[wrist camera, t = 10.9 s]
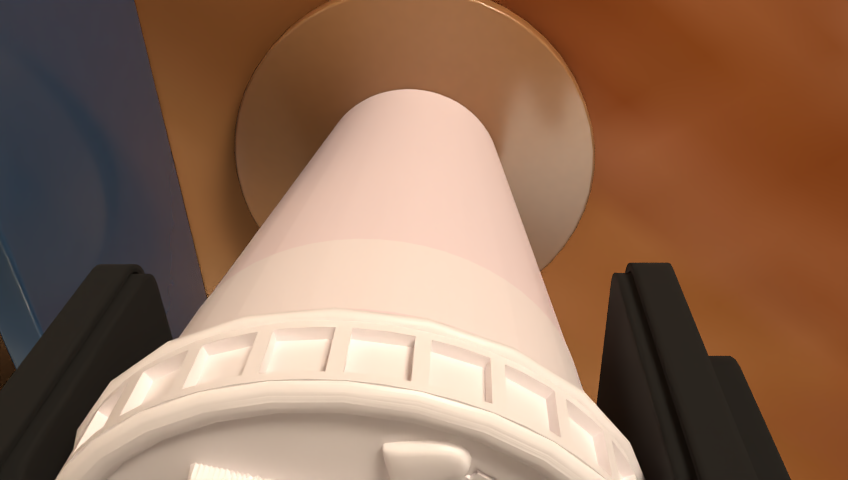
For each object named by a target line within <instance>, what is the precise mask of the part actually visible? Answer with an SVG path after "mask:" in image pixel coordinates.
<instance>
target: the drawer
mask: <svg viewBox="0 0 848 480" xmlns="http://www.w3.org/2000/svg"><path fill="white" fill-rule="evenodd" d="M100 264H137V265H139V266H141V268H142V269H143V270H144V273H145V274H151V275H153V276H154V277H155V279H156V282H157V285H158V288H159V292H160V295H161V299H162V302H163V306H164V309H165V313H166V316H167V320H168V323H169V327H170V330H171V334H172V337H173V340H174V339H177V338H179V336H180V335H181V334H182V332H183V331H184V329H185V328H186V327H187V325H188V324H189V322H190V321H191V319H192V318H193V317H194V315H195V314H196V312H197V311H198V309H199V308H200V307H201V306H202V304H203V303H204V302H205V301H206V300H207V297H206V293H205V289H204V284H203V280H202V276H201V272H200V268H199V264H198V260H197V256H196V252H195V248H194V243H193V239H192V235H191V231H190V227H189V223H188V219H187V215H186V211H185V207H184V202H183V198H182V194H181V190H180V186H179V182H178V178H177V174H176V170H175V166H174V161H173V157H172V153H171V149H170V145H169V141H168V137H167V133H166V129H165V125H164V120H163V116H162V112H161V108H160V104H159V100H158V96H157V92H156V88H155V83H154V79H153V75H152V71H151V67H150V63H149V59H148V55H147V51H146V47H145V42H144V38H143V34H142V30H141V26H140V22H139V18H138V14H137V10H136V6H135V1H134V0H0V334H1V336H2V338H3V341H4V343H5V345H6V347H7V350H8V352H9V354H10V356H11V359H12V361H13V363H14V365H15V368H16V369H17V368H18V367H19V365H20V364H21V363H22V361H23V360H24V359H25V357H26V356H27V355H28V353H29V352H30V351H31V350H32V348H33V347H34V346H35V344H36V343H37V342H38V340H39V339H40V338H41V336H42V335H43V334H44V332H45V331H46V330H47V328H48V327H49V326H50V324H51V323H52V322H53V320H54V319H55V318H56V316H57V315H58V314H59V313H60V311H61V310H62V309H63V307H64V306H65V305H66V303H67V302H68V301H69V299H70V298H71V297H72V295H73V294H74V293H75V291H76V290H77V289H78V287H79V286H80V285H81V283H82V282H83V281H84V279H85V278H86V277H87V276H88V274H89V273H90V272H91V270H92V269H93V268H94V267H95V266H96V265H100Z"/></svg>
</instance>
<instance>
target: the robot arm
mask: <svg viewBox="0 0 848 480" xmlns="http://www.w3.org/2000/svg"><path fill="white" fill-rule="evenodd" d="M171 340H173V337H172V334H171V330H170V327H169V323H168V320H167V316H166V313H165V309H164V306H163V302H162V299H161V295H160V292H159V288H158V285H157V282H156V279H155V277H154V276H153V275H151V274H145V273H144V270H143V269H142V268H141V266H139V265H137V264H100V265H96V266H95V267H94V268H93V269H92V270H91V272H90V273H89V274H88V276H87V277H86V278H85V279H84V281H83V282H82V283H81V285H80V286H79V287H78V289H77V290H76V291H75V293H74V294H73V295H72V297H71V298H70V299H69V301H68V302H67V303H66V305H65V306H64V307H63V309H62V310H61V311H60V313H59V314H58V315H57V316H56V318H55V319H54V320H53V322H52V323H51V324H50V326H49V327H48V328H47V330H46V331H45V332H44V334H43V335H42V336H41V338H40V339H39V340H38V342H37V343H36V344H35V346H34V347H33V348H32V350H31V351H30V352H29V353H28V355H27V356H26V357H25V359H24V360H23V361H22V363H21V364H20V365H19V367H18V368H17V369H16V371H15V372H14V373H13V375H12V376H11V377H10V379H9V380H8V381H7V383H6V384H5V385H4V387H3V388H2V389H1V390H0V480H55V479H56V478H57V476H58V474H59V472H60V471H61V469H62V467H63V466H64V464H65V463H66V461H67V459H68V458H69V456H70V454H71V452H72V451H73V449H74V443H75V438H76V433H77V429H78V428H79V426H80V425H81V423H82V422H83V421H84V419H85V418H86V416H87V415H88V413H89V412H90V410H91V409H92V408H93V406H94V405H95V403H96V402H97V400H98V399H99V397H100V396H101V395H102V393H103V392H104V390H105V389H106V387H107V386H108V384H109V383H110V382H111V381H112V380H113V379H115V378H116V377H118V376H119V375H120V374H122V373H123V372H125V371H126V370H128V369H129V368H131V367H132V366H133V365H135V364H136V363H138V362H139V361H141V360H142V359H143V358H145V357H146V356H148V355H149V354H151V353H152V352H154V351H155V350H156V349H158V348H159V347H161V346H162V345H164V344H165V343H166V342H168V341H171ZM597 407H598V408H599V409H600V410H601V411H602V412H603V413H604V414H605V415H606V416H607V418H608V419H609V420H610V421H611V422H612V423H613V424H614V425H615V426H616V427H617V429H618V430H619V431H620V432H621V433H622V434H623V435H624V436H625V437H626V438H627V440H628V441H629V442H630V444H631V446H632V449H633V451H634V453H635V456H636V458H637V461H638V463H639V466H640V468H641V470H642V473H643V475H644V478H645V480H791V479H790V477H789V474H788V472H787V470H786V468H785V466H784V463H783V461H782V459H781V457H780V454H779V452H778V450H777V448H776V446H775V443H774V441H773V439H772V437H771V435H770V432H769V430H768V428H767V426H766V423H765V421H764V419H763V417H762V415H761V412H760V410H759V408H758V406H757V403H756V401H755V399H754V397H753V395H752V392H751V390H750V388H749V386H748V383H747V381H746V379H745V377H744V375H743V372H742V370H741V368H740V366H739V365H738V363H737V361H736V360H735V359H734V358H732V357H731V356H708V354H707V351H706V349H705V346H704V344H703V341H702V339H701V337H700V334H699V332H698V329H697V327H696V324H695V322H694V319H693V317H692V314H691V312H690V309H689V307H688V304H687V302H686V299H685V297H684V295H683V292H682V290H681V287H680V285H679V282H678V280H677V277H676V275H675V272H674V270H673V268H672V266H671V264H669V263H629V264H628V265H627V267H626V271H625V273H614V274H613V276H612V280H611V288H610V296H609V305H608V313H607V322H606V330H605V339H604V347H603V356H602V364H601V372H600V381H599V389H598V398H597Z"/></svg>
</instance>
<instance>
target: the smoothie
mask: <svg viewBox="0 0 848 480" xmlns="http://www.w3.org/2000/svg"><path fill="white" fill-rule="evenodd" d="M55 480H645V478H644V475H643V473H642V470H641V468H640V466H639V463H638V461H637V458H636V456H635V453H634V451H633V449H632V446H631V444H630V442H629V441H628V440H627V438H626V437H625V436H624V435H623V434H622V433H621V432H620V431H619V430H618V429H617V427H616V426H615V425H614V424H613V423H612V422H611V421H610V420H609V419H608V418H607V416H606V415H605V414H604V413H603V412H602V411H601V410H600V409H599V408H598V407H597V405H596V404H595V403H594V402H593V401H592V400H591V399H590V398H589V397H588V395H587V394H586V393H585V392H584V391H583V388H582V385H581V382H580V379H579V376H578V373H577V370H576V367H575V364H574V362H573V359H572V357H571V354H570V352H569V349H568V347H567V345H566V343H565V340H564V337H563V334H562V331H561V329H560V326H559V323H558V320H557V318H556V315H555V312H554V309H553V307H552V304H551V301H550V298H549V295H548V293H547V290H546V287H545V284H544V282H543V279H542V276H541V273H540V270H539V268H538V265H537V262H536V259H535V257H534V254H533V251H532V248H531V245H530V243H529V240H528V237H527V234H526V232H525V229H524V226H523V223H522V221H521V218H520V215H519V212H518V209H517V207H516V204H515V201H514V198H513V196H512V193H511V190H510V187H509V184H508V182H507V179H506V176H505V173H504V171H503V168H502V165H501V162H500V159H499V157H498V154H497V151H496V148H495V146H494V143H493V141H492V139H491V137H490V135H489V133H488V131H487V130H486V128H485V127H484V125H483V124H482V123H481V122H480V121H479V119H478V118H477V117H476V116H475V115H474V114H473V113H472V112H470V111H469V110H468V109H467V108H465V107H464V106H462V105H461V104H459V103H458V102H456V101H454V100H452V99H450V98H448V97H445V96H443V95H440V94H437V93H434V92H430V91H425V90H416V89H401V90H393V91H387V92H383V93H380V94H377V95H374V96H372V97H369V98H367V99H366V100H364V101H362V102H360V103H359V104H357V105H356V106H354V107H353V108H352V109H351V110H349V111H348V112H347V113H346V114H345V115H344V116H343V117H342V118H341V120H340V121H339V122H338V123H337V125H336V126H335V127H334V129H333V130H332V132H331V133H330V134H329V136H328V137H327V138H326V140H325V141H324V142H323V144H322V145H321V146H320V148H319V149H318V150H317V152H316V153H315V155H314V156H313V157H312V159H311V160H310V161H309V163H308V164H307V165H306V167H305V168H304V169H303V171H302V172H301V173H300V175H299V176H298V177H297V179H296V180H295V182H294V183H293V184H292V186H291V187H290V188H289V190H288V191H287V192H286V194H285V195H284V196H283V198H282V199H281V200H280V202H279V203H278V205H277V206H276V207H275V209H274V210H273V211H272V213H271V214H270V215H269V217H268V218H267V219H266V221H265V222H264V223H263V225H262V226H261V228H260V229H259V230H258V232H257V233H256V234H255V236H254V237H253V238H252V240H251V241H250V242H249V244H248V245H247V246H246V248H245V249H244V250H243V252H242V253H241V255H240V256H239V257H238V259H237V260H236V261H235V263H234V264H233V265H232V267H231V268H230V269H229V271H228V272H227V273H226V275H225V276H224V278H223V279H222V280H221V282H220V283H219V284H218V286H217V287H216V288H215V290H214V291H213V292H212V294H211V295H210V296H209V297H208V298H207V300H206V301H205V302H204V303H203V304H202V306H201V307H200V308H199V309H198V311H197V312H196V314H195V315H194V317H193V318H192V319H191V321H190V322H189V324H188V325H187V327H186V328H185V329H184V331H183V332H182V334H181V335H180V336H179V338H177V339H174V340H171V341H168V342H166V343H165V344H164V345H162V346H161V347H159V348H158V349H156V350H155V351H154V352H152V353H151V354H149V355H148V356H146V357H145V358H143V359H142V360H141V361H139V362H138V363H136V364H135V365H133V366H132V367H131V368H129V369H128V370H126V371H125V372H123V373H122V374H120V375H119V376H118V377H116V378H115V379H113V380H112V381H111V382H110V383H109V384H108V386H107V387H106V389H105V390H104V392H103V393H102V395H101V396H100V397H99V399H98V400H97V402H96V403H95V405H94V406H93V408H92V409H91V410H90V412H89V413H88V415H87V416H86V418H85V419H84V421H83V422H82V423H81V425H80V426H79V428H78V429H77V433H76V438H75V443H74V449H73V451H72V452H71V454H70V456H69V458H68V459H67V461H66V463H65V464H64V466H63V467H62V469H61V471H60V472H59V474H58V476H57V478H56V479H55Z"/></svg>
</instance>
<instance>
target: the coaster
mask: <svg viewBox="0 0 848 480" xmlns="http://www.w3.org/2000/svg"><path fill="white" fill-rule="evenodd" d="M401 89H416V90H425V91H430V92H434V93H437V94H440V95H443V96H445V97H448V98H450V99H452V100H454V101H456V102H458V103H459V104H461V105H462V106H464V107H465V108H467V109H468V110H469V111H470V112H472V113H473V114H474V115H475V116H476V117H477V118H478V119H479V121H480V122H481V123H482V124H483V125H484V127H485V128H486V130H487V131H488V133H489V135H490V137H491V139H492V141H493V143H494V146H495V148H496V151H497V154H498V157H499V159H500V162H501V165H502V168H503V171H504V173H505V176H506V179H507V182H508V184H509V187H510V190H511V193H512V196H513V198H514V201H515V204H516V207H517V209H518V212H519V215H520V218H521V221H522V223H523V226H524V229H525V232H526V234H527V237H528V240H529V243H530V245H531V248H532V251H533V254H534V257H535V259H536V262H537V265H538V268H539V270H540V271H541V270H542V269H544V268H545V267H546V266H547V265H548V264H549V263H550V262H551V261H552V260H553V259H554V258H555V257H556V255H557V254H558V253H559V252H560V251H561V250H562V249H563V247H564V246H565V245H566V243H567V242H568V240H569V238H570V237H571V235H572V234H573V232H574V231H575V229H576V227H577V225H578V223H579V221H580V219H581V217H582V215H583V213H584V211H585V208H586V205H587V202H588V199H589V195H590V192H591V188H592V182H593V176H594V170H595V145H594V137H593V129H592V124H591V120H590V117H589V113H588V110H587V106H586V103H585V100H584V97H583V95H582V93H581V91H580V88H579V86H578V84H577V82H576V80H575V77H574V75H573V74H572V72H571V71H570V69H569V68H568V66H567V64H566V63H565V61H564V60H563V58H562V57H561V55H560V54H559V53H558V52H557V51H556V50H555V48H554V47H553V46H552V45H551V44H550V43H549V41H548V40H547V39H546V38H545V37H544V36H543V35H542V34H540V33H539V32H538V31H537V30H536V29H535V28H534V27H532V26H531V25H530V24H529V23H528V22H527V21H525V20H524V19H522V18H521V17H519V16H518V15H516V14H515V13H513V12H512V11H510V10H509V9H507V8H506V7H503V6H501V5H499V4H497V3H495V2H493V1H491V0H330V1H328V2H326V3H325V4H323V5H321V6H319V7H317V8H316V9H314V10H312V11H310V12H309V13H307V14H306V15H305V16H303V17H302V18H301V19H300V20H298V21H297V22H296V23H294V24H293V25H292V26H290V27H289V28H288V29H287V30H286V31H285V32H284V34H283V35H282V36H281V37H280V38H279V39H278V40H277V41H276V42H275V43H274V44H273V45H272V47H271V48H270V49H269V51H268V52H267V54H266V55H265V56H264V58H263V59H262V61H261V62H260V64H259V65H258V66H257V68H256V69H255V71H254V73H253V75H252V77H251V79H250V81H249V83H248V85H247V87H246V89H245V92H244V95H243V98H242V101H241V104H240V107H239V110H238V116H237V122H236V128H235V152H234V153H235V161H236V169H237V175H238V179H239V183H240V187H241V190H242V194H243V197H244V199H245V201H246V204H247V206H248V209H249V211H250V213H251V215H252V217H253V219H254V220H255V222H256V224H257V226H258V227H259V229H260V228H261V226H262V225H263V223H264V222H265V221H266V219H267V218H268V217H269V215H270V214H271V213H272V211H273V210H274V209H275V207H276V206H277V205H278V203H279V202H280V200H281V199H282V198H283V196H284V195H285V194H286V192H287V191H288V190H289V188H290V187H291V186H292V184H293V183H294V182H295V180H296V179H297V177H298V176H299V175H300V173H301V172H302V171H303V169H304V168H305V167H306V165H307V164H308V163H309V161H310V160H311V159H312V157H313V156H314V155H315V153H316V152H317V150H318V149H319V148H320V146H321V145H322V144H323V142H324V141H325V140H326V138H327V137H328V136H329V134H330V133H331V132H332V130H333V129H334V127H335V126H336V125H337V123H338V122H339V121H340V120H341V118H342V117H343V116H344V115H345V114H346V113H347V112H348V111H349V110H351V109H352V108H353V107H354V106H356V105H357V104H359V103H360V102H362V101H364V100H366V99H367V98H369V97H372V96H374V95H377V94H380V93H383V92H387V91H393V90H401Z"/></svg>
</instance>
